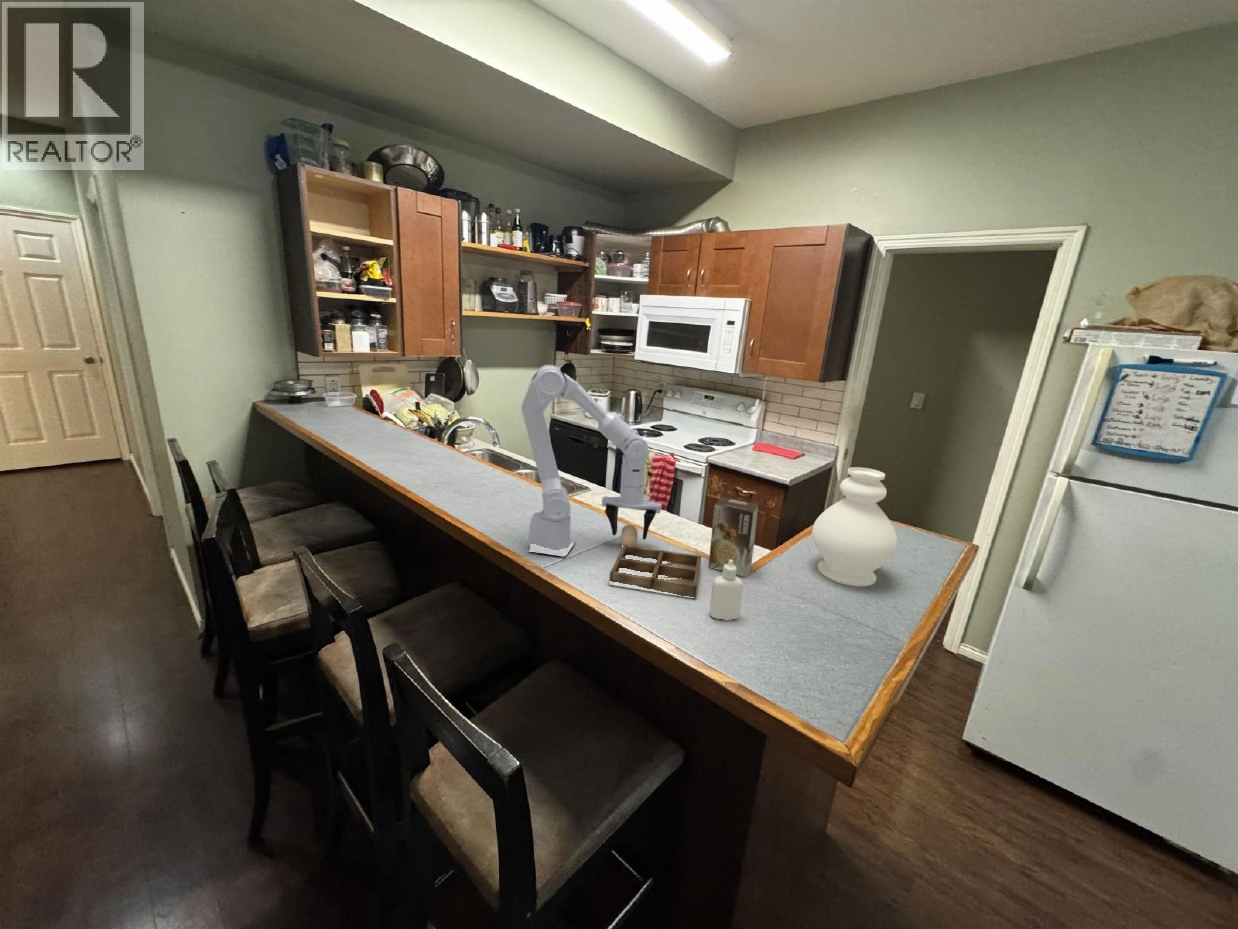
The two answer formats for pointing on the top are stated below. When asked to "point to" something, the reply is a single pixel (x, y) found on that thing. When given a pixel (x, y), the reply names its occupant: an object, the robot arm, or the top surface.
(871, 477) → the decorative vase
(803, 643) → the top surface
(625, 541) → the cylinder
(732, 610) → the eye dropper bottle
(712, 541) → the coffee box
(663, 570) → the crate
